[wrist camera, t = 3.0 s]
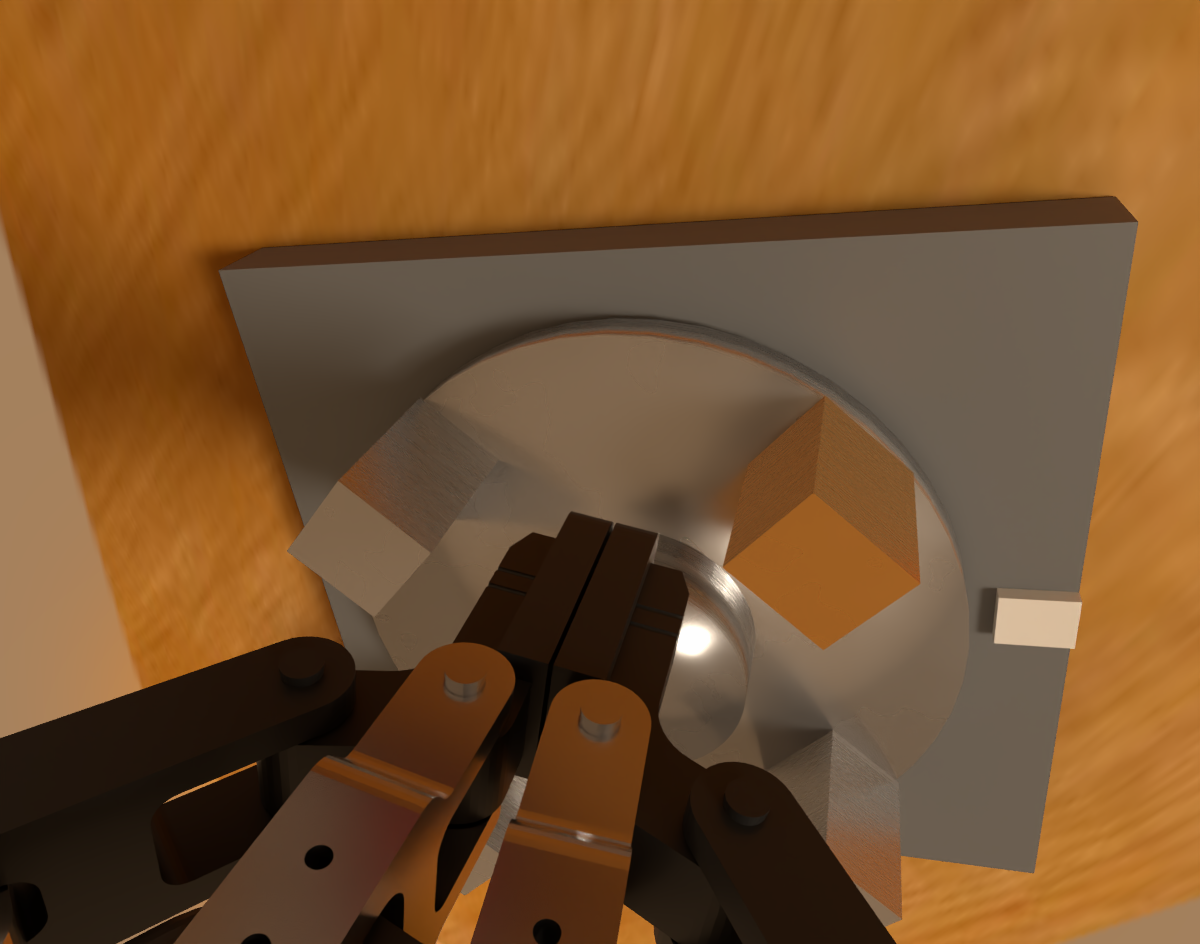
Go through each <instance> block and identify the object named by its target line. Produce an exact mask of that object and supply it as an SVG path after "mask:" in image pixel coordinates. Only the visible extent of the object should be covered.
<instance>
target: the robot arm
mask: <svg viewBox="0 0 1200 944" xmlns="http://www.w3.org/2000/svg"><path fill="white" fill-rule="evenodd" d="M658 540H659V533H655V532H651V531H648V530H644V529H640V528H636V527H632V526H628V525H624V524H620V523H616V524H615V526H614V522H612V521H608V520H604V519H600V518H597V517H593V516H589V515H585V514H581V513H577V512H573V511H571V512H570V513H569V514H568V516H567V518H566V520H565V522H564V524H563V526H562V527H561V529H560V531H559V533H558V535H557V537H556V538H554V537H550V536H546V535H542V534H538V533H535V532H532V533H530V534H529V535H527V536H526V537H524V538H523V539H521V540H519V541H518V542H516V543H515V544H513V545H512V546H510V548H509V549H508V551H507V553H506V554H505V556H504V558H503V559H502V561H501V563H500V564H499V566H498V570H496V571H495V573H494V574H493V576H492V578H491V580H490V581H489V584H488V587H487V586H486V588H485V590H484V591H483V593H482V595H481V596H480V598H479V600H478V601H477V603H476V605H475V606H474V608H473V610H472V611H471V613H470V615H469V616H468V618H467V620H466V621H465V623H464V625H463V626H462V628H461V630H460V631H459V633H458V635H457V636H456V638H455V640H454V641H453V643H452V644H448V645H444V646H441V647H439V648H436V649H435V650H433V651H431V652H430V653H428V654H427V655H426V656H424V657H423V659H422V660H421V661H420V662H419V663H418V665H417V666H416V667H415V668H413V669H409V670H401V671H373V670H356V666H355V662H354V659H353V657H352V655H351V654H350V653H349V651H348V650H347V649H346V648H344V647H343V646H342V645H340V644H338V643H336V642H334V641H332V640H329V639H325V638H320V637H297V638H291V639H288V640H284V641H281V642H278V643H275V644H272V645H269V646H266V647H263V648H261V649H258V650H255V651H252V652H249V653H246V654H243V655H240V656H237V657H234V658H232V659H229V660H226V661H223V662H220V663H217V664H214V665H211V666H208V667H206V668H203V669H200V670H197V671H194V672H191V673H188V674H185V675H182V676H179V677H177V678H174V679H171V680H168V681H165V682H162V683H159V684H156V685H153V686H150V687H148V688H145V689H142V690H139V691H136V692H133V693H130V694H127V695H124V696H121V697H119V698H116V699H113V700H110V701H107V702H104V703H101V704H98V705H95V706H92V707H90V708H87V709H84V710H81V711H79V712H75V713H72V714H70V715H67V716H63V717H61V718H58V719H55V720H52V721H49V722H46V723H43V724H40V725H37V726H35V727H32V728H29V729H26V730H23V731H20V732H17V733H14V734H11V735H8V736H5V737H3V738H0V944H116V943H118V942H120V941H122V940H124V939H126V938H129V937H131V936H133V935H135V934H137V933H139V932H141V931H143V930H145V929H147V928H149V927H151V926H153V925H155V924H157V923H159V922H161V921H163V920H166V919H168V918H170V917H172V916H174V915H175V914H178V913H180V912H182V911H184V910H186V909H188V908H190V907H192V906H194V905H196V904H199V903H200V902H203V901H204V900H207V899H209V900H208V901H207V902H206V903H205V904H204V906H203V907H200V908H197V909H194V910H191V911H189V912H187V913H184V914H181V915H179V916H176V917H174V918H172V919H170V920H168V921H166V922H164V923H162V924H160V925H158V926H156V927H154V928H152V929H150V930H148V931H146V932H145V933H143V934H141V935H139V936H137V937H135V938H133V939H131V940H129V941H127V942H125V943H124V944H436V941H437V939H438V936H439V934H440V931H441V929H442V927H443V925H444V923H445V921H446V919H447V917H448V915H449V913H450V911H451V909H452V908H453V906H454V904H455V902H456V900H457V898H458V896H459V894H460V892H461V890H462V888H463V887H464V885H465V883H466V881H467V879H468V877H469V875H470V873H471V871H472V869H473V868H474V866H475V864H476V862H477V860H478V858H479V856H480V854H481V852H482V850H483V849H484V847H485V845H486V843H487V841H488V839H489V837H490V835H491V833H492V831H493V829H494V828H495V826H496V824H497V821H498V819H499V816H500V810H501V804H502V802H503V800H504V799H505V797H506V794H507V792H508V789H509V787H510V785H511V782H512V780H513V778H514V775H516V776H519V777H522V778H526V779H528V780H527V784H526V787H525V790H524V793H523V797H522V800H521V803H520V806H519V810H518V813H517V816H516V818H515V819H511V820H510V822H509V825H508V827H507V830H506V833H505V836H504V839H503V842H502V845H501V848H500V851H499V855H498V858H497V861H496V864H495V867H494V871H493V874H492V877H491V880H490V883H489V886H488V890H487V893H486V896H485V899H484V902H483V906H482V909H481V912H480V915H479V918H478V922H477V925H476V928H475V931H474V934H473V937H472V941H471V944H617V938H618V932H619V926H620V921H621V915H622V909H623V904H624V905H626V906H627V907H629V908H630V909H631V910H633V911H634V912H635V913H637V914H638V915H640V916H641V917H642V918H644V919H645V920H647V921H648V922H649V923H651V924H652V925H654V935H655V940H656V944H896V942H895V941H894V940H893V938H892V937H891V935H890V934H889V932H888V931H887V929H886V928H885V927H884V925H883V924H882V922H881V921H880V919H879V918H878V917H877V915H876V914H875V912H874V911H873V909H872V908H871V907H870V905H869V904H868V902H867V901H866V899H865V898H864V896H863V895H862V894H861V892H860V891H859V889H858V888H857V886H856V885H855V884H854V882H853V881H852V879H851V878H850V876H849V875H848V874H847V872H846V871H845V869H844V868H843V866H842V865H841V863H840V862H839V861H838V859H837V858H836V856H835V855H834V853H833V852H832V851H831V849H830V848H829V846H828V845H827V843H826V842H825V841H824V839H823V838H822V836H821V835H820V833H819V832H818V830H817V829H816V828H815V826H814V825H813V823H812V822H811V820H810V819H809V818H808V816H807V815H806V813H805V812H804V810H803V809H802V808H801V806H800V805H799V803H798V802H797V800H796V799H795V797H794V796H793V795H792V793H791V792H790V791H789V789H788V788H787V787H786V786H785V785H784V784H783V783H782V782H781V781H780V780H779V779H778V778H777V777H775V776H774V775H772V774H771V773H769V772H767V771H766V770H764V769H762V768H759V767H757V766H754V765H751V764H747V763H742V762H723V763H718V764H715V765H712V766H710V767H708V768H707V769H706V768H704V767H703V766H701V765H699V764H698V763H696V762H694V761H693V760H691V759H690V758H688V757H687V756H685V755H684V754H682V753H681V752H680V751H679V750H678V749H677V748H676V747H674V745H673V744H672V743H671V742H670V741H669V740H668V738H667V736H666V735H665V733H664V732H663V729H662V727H661V725H660V721H659V712H660V709H661V705H662V701H663V698H664V694H665V690H666V686H667V683H668V679H669V676H670V672H671V668H672V665H673V661H674V656H675V652H676V648H677V644H678V640H679V636H680V631H681V627H682V623H683V619H684V615H685V610H686V606H687V602H688V598H689V591H688V588H687V585H686V582H685V579H684V576H683V572H682V571H679V570H676V569H672V568H668V567H664V566H661V565H657V564H654V560H655V555H656V550H657V545H658ZM255 762H257V765H255V766H253V767H250V768H248V769H245V770H243V771H241V772H238V773H236V774H233V775H231V776H229V777H226V778H224V779H222V780H219V781H217V782H214V783H212V784H210V785H207V786H205V787H202V788H200V789H198V790H195V791H193V792H190V793H188V794H186V795H183V796H181V797H178V798H176V799H174V800H171V801H169V802H167V803H165V802H166V801H167V800H169V799H170V798H172V797H174V796H176V795H178V794H180V793H182V792H185V791H187V790H190V789H192V788H194V787H197V786H199V785H202V784H204V783H207V782H209V781H211V780H214V779H216V778H219V777H221V776H223V775H226V774H228V773H231V772H233V771H235V770H238V769H240V768H243V767H245V766H247V765H250V764H252V763H255ZM163 803H164V804H163Z"/></svg>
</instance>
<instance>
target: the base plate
mask: <svg viewBox="0 0 1200 944" xmlns="http://www.w3.org/2000/svg"><path fill="white" fill-rule="evenodd" d="M1137 226H1138V221H1137V220H1136V219H1135V218H1134V217H1133V215H1132V214H1131V213H1130V212H1129V211H1128V210H1127V209H1126V208H1125V206H1124V205H1123V204H1122V203H1121V202H1120V201H1119V200H1118V199H1117V197H1099V198H1083V199H1066V200H1050V201H1033V202H1016V203H1000V204H983V205H967V206H950V207H933V208H917V209H900V210H884V211H867V212H850V213H834V214H817V215H801V216H784V217H767V218H751V219H734V220H718V221H701V222H684V223H668V224H651V225H635V226H618V227H601V228H585V229H568V230H552V231H535V232H518V233H502V234H485V235H469V236H452V237H435V238H419V239H402V240H386V241H369V242H352V243H336V244H319V245H303V246H286V247H269V248H261V249H259V250H257V251H255V252H254V253H252V254H250V255H248V256H246V257H244V258H242V259H240V260H238V261H236V262H234V263H232V264H230V265H228V266H226V267H224V268H222V269H220V270H218V271H219V273H220V276H221V279H222V282H223V285H224V288H225V291H226V294H227V297H228V300H229V303H230V306H231V309H232V312H233V315H234V318H235V321H236V324H237V327H238V330H239V333H240V336H241V339H242V342H243V345H244V348H245V351H246V354H247V357H248V360H249V363H250V366H251V369H252V372H253V375H254V378H255V381H256V384H257V387H258V390H259V393H260V396H261V399H262V402H263V405H264V408H265V411H266V414H267V416H268V419H269V422H270V425H271V428H272V431H273V434H274V437H275V440H276V443H277V446H278V449H279V452H280V455H281V458H282V461H283V464H284V467H285V470H286V473H287V476H288V479H289V482H290V485H291V488H292V491H293V494H294V497H295V500H296V503H297V506H298V509H299V512H300V515H301V518H302V521H303V524H304V527H305V526H306V524H307V523H308V521H309V520H310V519H311V517H312V516H313V515H314V513H315V512H316V510H317V509H318V508H319V506H320V505H321V504H322V502H323V501H324V499H325V498H326V497H327V495H328V494H329V493H330V491H331V490H332V488H333V487H334V486H335V484H336V483H337V482H338V480H339V479H340V478H341V477H342V476H343V475H344V474H345V473H346V472H347V471H348V470H349V469H350V468H351V467H352V466H353V465H354V464H355V463H356V462H357V461H358V460H359V459H360V458H361V457H362V456H363V455H364V454H365V453H366V452H367V451H368V450H369V449H370V448H371V447H372V446H373V445H374V444H375V443H376V442H377V441H378V440H379V439H380V438H381V437H382V436H383V435H384V434H385V433H386V432H387V431H388V430H389V429H390V428H391V427H392V426H393V425H394V424H395V423H396V422H397V421H398V420H399V419H400V418H401V417H402V416H403V415H404V414H405V413H406V412H407V411H408V410H409V409H410V408H411V407H412V405H413V404H414V403H415V402H416V401H417V400H418V399H419V398H420V397H421V398H422V399H423V400H424V399H425V398H426V397H427V396H428V395H429V394H430V393H431V392H432V391H433V390H434V389H435V388H436V387H437V386H438V385H439V384H440V383H442V382H443V381H444V380H445V379H446V378H448V377H449V376H450V375H451V374H453V373H454V372H455V371H456V370H458V369H459V368H460V367H461V366H463V365H464V364H465V363H467V362H469V361H470V360H472V359H474V358H476V357H477V356H479V355H481V354H483V353H484V352H486V351H488V350H489V349H491V348H493V347H495V346H496V345H499V344H502V343H504V342H507V341H509V340H512V339H514V338H517V337H519V336H522V335H525V334H527V333H530V332H532V331H536V330H541V329H545V328H549V327H553V326H558V325H562V324H566V323H570V322H578V321H589V320H599V319H609V318H631V319H660V320H666V321H672V322H678V323H685V324H691V325H697V326H703V327H708V328H711V329H715V330H718V331H721V332H725V333H728V334H732V335H735V336H739V337H742V338H746V339H749V340H752V341H754V342H756V343H759V344H761V345H763V346H766V347H768V348H770V349H773V350H775V351H777V352H780V353H782V354H784V355H787V356H789V357H791V358H794V359H795V360H797V361H799V362H801V363H802V364H804V365H806V366H807V367H809V368H811V369H813V370H814V371H816V372H818V373H819V374H821V375H823V376H825V377H826V378H828V379H830V380H831V381H833V382H835V383H836V384H837V385H839V386H840V387H841V388H842V389H844V390H845V391H846V392H848V393H849V394H850V395H852V396H853V397H854V398H855V399H857V400H858V401H859V402H861V403H862V404H863V405H865V406H866V407H867V408H868V409H870V410H871V411H872V412H873V413H874V414H875V415H876V416H877V417H878V418H879V419H880V420H881V421H882V422H883V423H884V424H885V425H886V426H887V427H888V428H889V429H890V430H891V431H892V432H893V433H894V434H895V435H896V436H897V437H898V438H899V439H900V440H901V441H902V443H903V444H904V445H905V447H906V448H907V449H908V451H909V452H910V453H911V455H912V456H913V457H914V459H915V460H916V461H917V463H918V464H919V465H920V467H921V468H922V469H923V471H924V472H925V473H926V475H927V476H928V478H929V480H930V482H931V484H932V485H933V487H934V489H935V491H936V493H937V495H938V497H939V498H940V500H941V502H942V504H943V506H944V508H945V509H946V512H947V515H948V517H949V520H950V523H951V526H952V529H953V531H954V534H955V537H956V540H957V543H958V546H959V550H960V556H961V562H962V567H963V573H964V579H965V585H966V593H967V600H968V608H969V652H968V658H967V663H966V669H965V674H964V679H963V683H962V686H961V689H960V691H959V694H958V696H957V699H956V702H955V704H954V707H953V710H952V712H951V714H950V716H949V717H948V719H947V721H946V722H945V724H944V726H943V727H942V729H941V731H940V732H939V734H938V736H937V737H936V739H935V741H934V742H933V743H932V744H931V745H930V746H929V748H928V749H927V750H926V751H925V752H924V753H923V755H922V756H921V757H920V758H919V759H918V761H917V762H916V763H915V764H914V765H913V766H912V767H911V768H909V769H908V770H907V771H906V772H905V773H904V774H902V775H901V776H900V777H899V778H898V779H897V780H896V781H897V782H899V806H900V852H901V856H908V857H915V858H923V859H930V860H938V861H945V862H953V863H960V864H968V865H975V866H983V867H990V868H998V869H1005V870H1013V871H1020V872H1028V873H1034V871H1035V864H1036V858H1037V852H1038V846H1039V839H1040V833H1041V827H1042V821H1043V814H1044V808H1045V802H1046V796H1047V789H1048V783H1049V777H1050V771H1051V764H1052V758H1053V752H1054V746H1055V739H1056V733H1057V727H1058V721H1059V714H1060V708H1061V702H1062V696H1063V689H1064V683H1065V677H1066V671H1067V664H1068V658H1069V652H1070V649H1075V643H1076V637H1077V631H1078V625H1079V619H1080V613H1081V606H1082V600H1081V597H1080V594H1079V589H1080V583H1081V577H1082V570H1083V564H1084V558H1085V552H1086V545H1087V539H1088V533H1089V527H1090V520H1091V514H1092V508H1093V502H1094V495H1095V489H1096V483H1097V477H1098V470H1099V464H1100V458H1101V451H1102V445H1103V439H1104V433H1105V426H1106V420H1107V414H1108V408H1109V401H1110V395H1111V389H1112V383H1113V376H1114V370H1115V364H1116V358H1117V351H1118V345H1119V339H1120V333H1121V326H1122V320H1123V314H1124V308H1125V301H1126V295H1127V289H1128V283H1129V276H1130V270H1131V264H1132V257H1133V251H1134V245H1135V239H1136V232H1137ZM322 580H323V583H324V586H325V589H326V592H327V595H328V598H329V601H330V604H331V607H332V610H333V613H334V616H335V619H336V622H337V625H338V628H339V631H340V634H341V637H342V640H343V643H344V646H345V648H346V649H347V650H348V651H349V653H350V654H351V655H352V657H353V659H354V662H355V666H356V670H373V671H399V670H398V668H397V667H396V665H395V664H394V662H393V660H392V658H391V656H390V654H389V652H388V651H387V649H386V647H385V645H384V643H383V641H382V639H381V637H380V635H379V633H378V630H377V628H376V625H375V622H374V620H373V617H372V615H370V614H369V613H368V612H367V611H365V610H364V609H363V608H361V607H360V606H359V605H357V604H356V603H355V602H353V601H352V600H351V599H349V598H348V597H347V596H345V595H344V594H343V593H341V592H340V591H339V590H337V589H336V588H335V587H334V586H332V585H331V584H330V583H328V582H327V581H326V580H324V579H323V578H322Z"/></svg>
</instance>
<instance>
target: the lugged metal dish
mask: <svg viewBox="0 0 1200 944" xmlns="http://www.w3.org/2000/svg"><path fill="white" fill-rule="evenodd" d="M571 511H573V512H577V513H581V514H585V515H589V516H593V517H597V518H600V519H604V520H608V521H612V522H614V526H615V524H616V523H620V524H624V525H628V526H632V527H636V528H640V529H644V530H648V531H651V532H655V533H659V540H658V545H657V550H656V555H655V560H654V564H657V565H661V566H664V567H668V568H672V569H676V570H679V571H682V572H683V576H684V579H685V582H686V585H687V588H688V591H689V598H688V602H687V606H686V610H685V615H684V619H683V623H682V627H681V631H680V636H679V640H678V644H677V648H676V652H675V656H674V661H673V665H672V668H671V672H670V676H669V679H668V683H667V686H666V690H665V694H664V698H663V701H662V705H661V709H660V712H659V721H660V725H661V727H662V729H663V732H664V733H665V735H666V736H667V738H668V740H669V741H670V742H671V743H672V744H673V745H674V747H676V748H677V749H678V750H679V751H680V752H681V753H682V754H684V755H685V756H687V757H688V758H690V759H691V760H693V761H694V762H696V763H698V764H699V765H701V766H703V767H704V768H706V769H707V768H708V767H710V766H712V765H715V764H718V763H723V762H742V763H747V764H751V765H754V766H757V767H759V768H762V769H764V770H766V771H767V772H769V773H771V774H772V775H774V776H775V777H777V778H778V779H779V780H780V781H781V782H782V783H783V784H784V785H785V786H786V787H787V788H788V789H789V791H790V792H791V793H792V795H793V796H794V797H795V799H796V800H797V802H798V803H799V805H800V806H801V808H802V809H803V810H804V812H805V813H806V815H807V816H808V818H809V819H810V820H811V822H812V823H813V825H814V826H815V828H816V829H817V830H818V832H819V833H820V835H821V836H822V838H823V839H824V841H825V842H826V843H827V845H828V846H829V848H830V849H831V851H832V852H833V853H834V855H835V856H836V858H837V859H838V861H839V862H840V863H841V865H842V866H843V868H844V869H845V871H846V872H847V874H848V875H849V876H850V878H851V879H852V881H853V882H854V884H855V885H856V886H857V888H858V889H859V891H860V892H861V894H862V895H863V896H864V898H865V899H866V901H867V902H868V904H869V905H870V907H871V908H872V909H873V911H874V912H875V914H876V915H877V917H878V918H879V919H880V921H881V922H882V924H883V925H884V927H886V926H888V925H890V924H892V923H895V922H897V921H899V920H902V898H901V852H900V806H899V782H897V781H896V780H897V779H898V778H899V777H900V776H901V775H902V774H904V773H905V772H906V771H907V770H908V769H909V768H911V767H912V766H913V765H914V764H915V763H916V762H917V761H918V759H919V758H920V757H921V756H922V755H923V753H924V752H925V751H926V750H927V749H928V748H929V746H930V745H931V744H932V743H933V742H934V741H935V739H936V737H937V736H938V734H939V732H940V731H941V729H942V727H943V726H944V724H945V722H946V721H947V719H948V717H949V716H950V714H951V712H952V710H953V707H954V704H955V702H956V699H957V696H958V694H959V691H960V689H961V686H962V683H963V679H964V674H965V669H966V663H967V658H968V652H969V608H968V600H967V593H966V585H965V579H964V573H963V567H962V562H961V556H960V550H959V546H958V543H957V540H956V537H955V534H954V531H953V529H952V526H951V523H950V520H949V517H948V515H947V512H946V509H945V508H944V506H943V504H942V502H941V500H940V498H939V497H938V495H937V493H936V491H935V489H934V487H933V485H932V484H931V482H930V480H929V478H928V476H927V475H926V473H925V472H924V471H923V469H922V468H921V467H920V465H919V464H918V463H917V461H916V460H915V459H914V457H913V456H912V455H911V453H910V452H909V451H908V449H907V448H906V447H905V445H904V444H903V443H902V441H901V440H900V439H899V438H898V437H897V436H896V435H895V434H894V433H893V432H892V431H891V430H890V429H889V428H888V427H887V426H886V425H885V424H884V423H883V422H882V421H881V420H880V419H879V418H878V417H877V416H876V415H875V414H874V413H873V412H872V411H871V410H870V409H868V408H867V407H866V406H865V405H863V404H862V403H861V402H859V401H858V400H857V399H855V398H854V397H853V396H852V395H850V394H849V393H848V392H846V391H845V390H844V389H842V388H841V387H840V386H839V385H837V384H836V383H835V382H833V381H831V380H830V379H828V378H826V377H825V376H823V375H821V374H819V373H818V372H816V371H814V370H813V369H811V368H809V367H807V366H806V365H804V364H802V363H801V362H799V361H797V360H795V359H794V358H791V357H789V356H787V355H784V354H782V353H780V352H777V351H775V350H773V349H770V348H768V347H766V346H763V345H761V344H759V343H756V342H754V341H752V340H749V339H746V338H742V337H739V336H735V335H732V334H728V333H725V332H721V331H718V330H715V329H711V328H708V327H703V326H697V325H691V324H685V323H678V322H672V321H666V320H660V319H631V318H609V319H599V320H589V321H578V322H570V323H566V324H562V325H558V326H553V327H549V328H545V329H541V330H536V331H532V332H530V333H527V334H525V335H522V336H519V337H517V338H514V339H512V340H509V341H507V342H504V343H502V344H499V345H496V346H495V347H493V348H491V349H489V350H488V351H486V352H484V353H483V354H481V355H479V356H477V357H476V358H474V359H472V360H470V361H469V362H467V363H465V364H464V365H463V366H461V367H460V368H459V369H458V370H456V371H455V372H454V373H453V374H451V375H450V376H449V377H448V378H446V379H445V380H444V381H443V382H442V383H440V384H439V385H438V386H437V387H436V388H435V389H434V390H433V391H432V392H431V393H430V394H429V395H428V396H427V397H426V398H425V399H424V400H423V399H422V398H421V397H420V398H419V399H418V400H417V401H416V402H415V403H414V404H413V405H412V407H411V408H410V409H409V410H408V411H407V412H406V413H405V414H404V415H403V416H402V417H401V418H400V419H399V420H398V421H397V422H396V423H395V424H394V425H393V426H392V427H391V428H390V429H389V430H388V431H387V432H386V433H385V434H384V435H383V436H382V437H381V438H380V439H379V440H378V441H377V442H376V443H375V444H374V445H373V446H372V447H371V448H370V449H369V450H368V451H367V452H366V453H365V454H364V455H363V456H362V457H361V458H360V459H359V460H358V461H357V462H356V463H355V464H354V465H353V466H352V467H351V468H350V469H349V470H348V471H347V472H346V473H345V474H344V475H343V476H342V477H341V478H340V479H339V480H338V482H337V483H336V484H335V486H334V487H333V488H332V490H331V491H330V493H329V494H328V495H327V497H326V498H325V499H324V501H323V502H322V504H321V505H320V506H319V508H318V509H317V510H316V512H315V513H314V515H313V516H312V517H311V519H310V520H309V521H308V523H307V524H306V526H305V527H304V528H303V530H302V531H301V532H300V534H299V535H298V537H297V538H296V539H295V541H294V542H293V543H292V545H291V546H290V548H289V549H288V550H287V552H289V553H290V554H291V555H293V556H294V557H295V558H297V559H298V560H299V561H300V562H302V563H303V564H304V565H306V566H307V567H308V568H310V569H311V570H312V571H314V572H315V573H316V574H318V575H319V576H320V577H322V578H323V579H324V580H326V581H327V582H328V583H330V584H331V585H332V586H334V587H335V588H336V589H337V590H339V591H340V592H341V593H343V594H344V595H345V596H347V597H348V598H349V599H351V600H352V601H353V602H355V603H356V604H357V605H359V606H360V607H361V608H363V609H364V610H365V611H367V612H368V613H369V614H370V615H372V617H373V620H374V622H375V625H376V628H377V630H378V633H379V635H380V637H381V639H382V641H383V643H384V645H385V647H386V649H387V651H388V652H389V654H390V656H391V658H392V660H393V662H394V664H395V665H396V667H397V668H398V670H399V671H401V670H409V669H413V668H415V667H416V666H417V665H418V663H419V662H420V661H421V660H422V659H423V657H424V656H426V655H427V654H428V653H430V652H431V651H433V650H435V649H436V648H439V647H441V646H444V645H448V644H452V643H453V641H454V640H455V638H456V636H457V635H458V633H459V631H460V630H461V628H462V626H463V625H464V623H465V621H466V620H467V618H468V616H469V615H470V613H471V611H472V610H473V608H474V606H475V605H476V603H477V601H478V600H479V598H480V596H481V595H482V593H483V591H484V590H485V588H486V586H487V587H488V584H489V581H490V580H491V578H492V576H493V574H494V573H495V571H496V570H498V566H499V564H500V563H501V561H502V559H503V558H504V556H505V554H506V553H507V551H508V549H509V548H510V546H512V545H513V544H515V543H516V542H518V541H519V540H521V539H523V538H524V537H526V536H527V535H529V534H530V533H532V532H535V533H538V534H542V535H546V536H550V537H554V538H556V537H557V535H558V533H559V531H560V529H561V527H562V526H563V524H564V522H565V520H566V518H567V516H568V514H569V513H570V512H571ZM527 780H528V779H526V778H522V777H519V776H516V775H514V778H513V780H512V782H511V785H510V787H509V789H508V792H507V794H506V797H505V799H504V800H503V802H502V804H501V810H500V816H499V819H498V821H497V824H496V826H495V828H494V829H493V831H492V833H491V835H490V837H489V839H488V841H487V843H486V845H485V847H484V849H483V850H482V852H481V854H480V856H479V858H478V860H477V862H476V864H475V866H474V868H473V869H472V871H471V873H470V875H469V877H468V879H467V881H466V883H465V885H464V887H463V888H462V890H461V893H462V894H463V895H466V894H468V893H469V892H470V891H472V890H473V889H475V888H476V887H478V886H479V885H481V884H482V883H484V882H485V881H487V880H488V879H490V878H491V877H492V874H493V871H494V867H495V864H496V861H497V858H498V855H499V851H500V848H501V845H502V842H503V839H504V836H505V833H506V830H507V827H508V825H509V822H510V820H511V819H515V818H516V816H517V813H518V810H519V806H520V803H521V800H522V797H523V793H524V790H525V787H526V784H527Z"/></svg>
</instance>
